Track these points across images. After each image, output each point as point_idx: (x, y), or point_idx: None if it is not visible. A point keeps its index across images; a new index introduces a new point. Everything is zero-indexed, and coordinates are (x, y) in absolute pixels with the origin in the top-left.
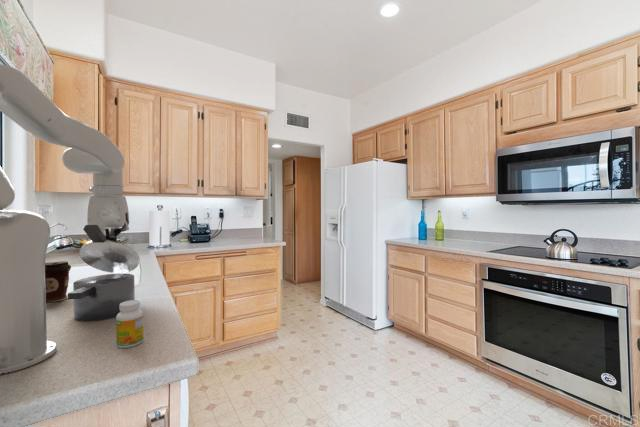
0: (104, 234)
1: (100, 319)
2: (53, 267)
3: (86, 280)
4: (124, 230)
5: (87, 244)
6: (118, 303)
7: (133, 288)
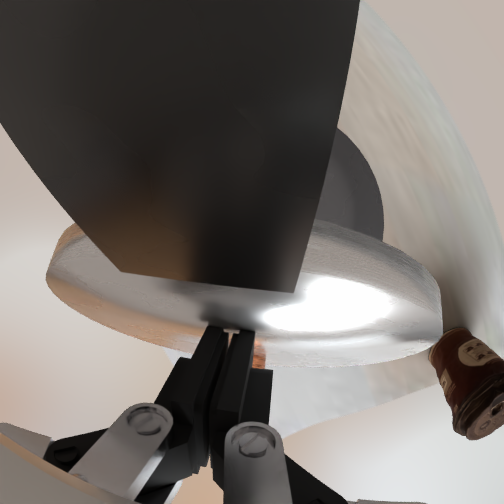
0: (234, 455)
1: None
2: (495, 388)
3: (342, 224)
4: (15, 431)
5: (379, 243)
6: None
7: None
